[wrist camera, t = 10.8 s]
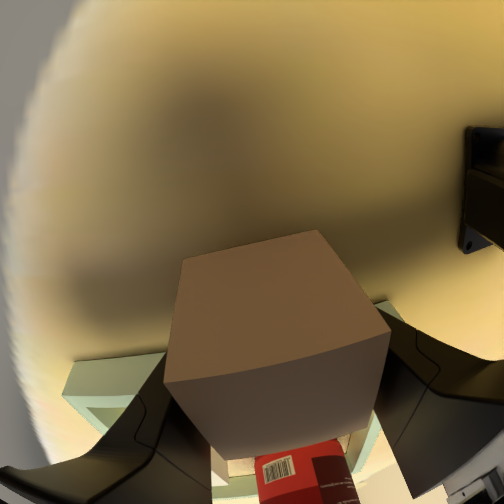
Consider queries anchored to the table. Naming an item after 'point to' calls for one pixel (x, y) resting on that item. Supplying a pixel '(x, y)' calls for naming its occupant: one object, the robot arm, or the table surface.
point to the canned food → (306, 476)
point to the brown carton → (274, 347)
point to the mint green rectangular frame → (131, 380)
